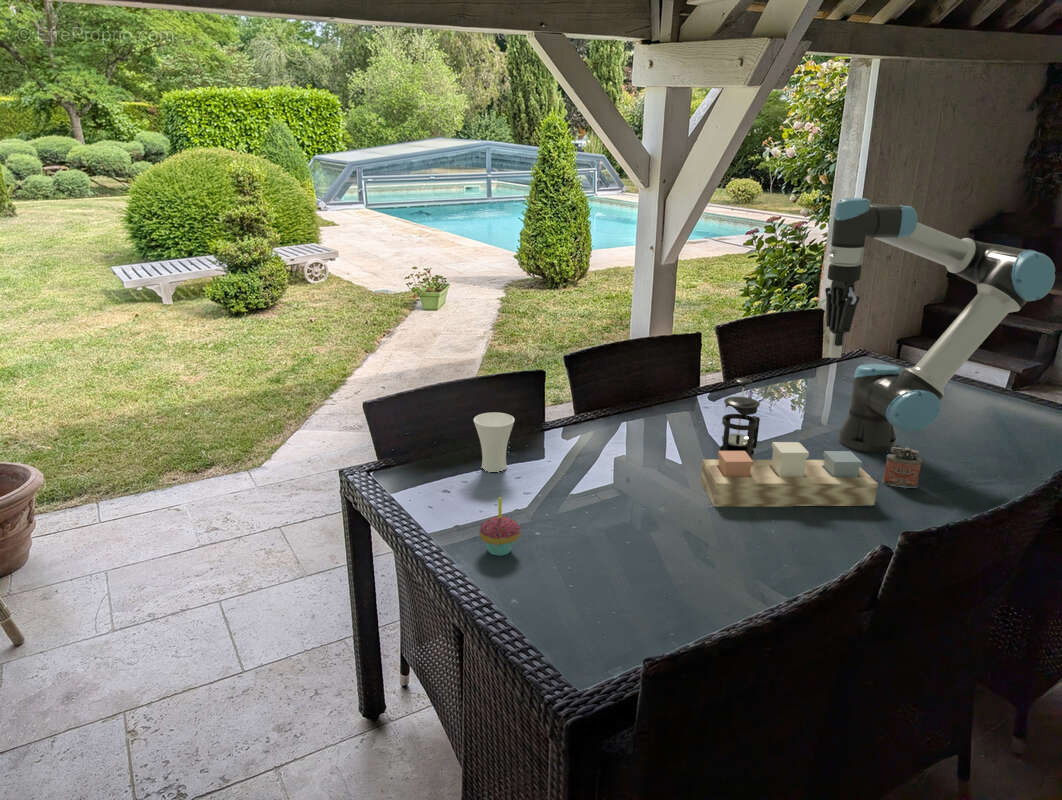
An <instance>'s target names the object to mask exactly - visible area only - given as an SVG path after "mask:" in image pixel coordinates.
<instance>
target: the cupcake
mask: <svg viewBox="0 0 1062 800" xmlns="http://www.w3.org/2000/svg"><path fill="white" fill-rule="evenodd" d="M502 503H503V501H502V496H501V493H499V497H498V505H497V507H498V515H497V516H493V517H489V518H488V519H487V520H485V521H483V523H481V525H480V527H479V538H480V539H481V540H482V541H483V542H484V543H485V546H486V548H487V552H488V553H489V554H491V555H493V556H499V557H501V556H506V555H508V554H509V553H511V551H512V548H513V544H514V543H515V542H516V541H517V540H518V539H519V538H520V536H521V533H522V531H521V529H522V528H521V526H520V525H519V524H518V522H517V521H515V519H513V518H511V517H508V516H503V515H502V514H503V513H502V509H503V507H502Z"/></svg>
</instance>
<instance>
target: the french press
mask: <svg viewBox="0 0 1062 800" xmlns="http://www.w3.org/2000/svg"><path fill="white" fill-rule="evenodd" d="M735 382H736V383H739V384H741V388H742V391H741V392H742V393H741V396H729V397H726V398H725V399H724V404H725V408H729V407H731V408H733V409H734V410H736V412H737V413H729V414H725V415H723V416H722V421H721V424H722V425H723V426H724V429H723V435H722V436H721V440H722V445H720V446H719V450H718V451H746V453H747V454H748V455H749V457H750V458H751V459H752V460H754V454H755V450H754V449H757V445H758V438H759V437H758V436H759V429H760V421H761V418H760V417H759V416H756V415H755V414H757V412H758V407H760V402H759V401H758V400H756V399H754V398H750V397H746V396H744V392H745V388H746V385H749V384H753V380H752V379H750V378H744V377H740V378H736V379H735ZM752 415H753V416H752ZM732 419H733V420H734V419H735V420H736V419H737V420H738V424H737V423H736V424H735V423H731V420H732ZM741 420H746V421H748V424H747V425H745V424H744V425H743V424H741V422H742V421H741ZM731 429H732V430H736V431H737V433H730V430H731ZM740 431H747V434H743V433H740ZM717 460H719V456H718V455H717Z"/></svg>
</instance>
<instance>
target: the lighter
mask: <svg viewBox="0 0 1062 800" xmlns="http://www.w3.org/2000/svg"><path fill="white" fill-rule="evenodd" d="M891 453H892V454H891ZM918 456H919V450H915V449H911V448H910V447H904V448H903V447H897V446H895V447H892V448H891V451H890V453H889V454H887V455H886V463H885V468H884V475H883V478H882V481H881V482H883V483H885V484H889V485H896V486H906V487H916V486H917V487H918V480H919V476H920V471H921V465H922V464H923V459H922V458H920V457H918Z"/></svg>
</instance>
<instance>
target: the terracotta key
mask: <svg viewBox="0 0 1062 800" xmlns="http://www.w3.org/2000/svg"><path fill="white" fill-rule="evenodd" d="M718 456H719V464H718V469H719V470H720V472H721V474H722V475H723V477H750V471H751V466H753V461H752V459H751V458H750V457H749V455H748V454H747V453H746V451H719V450H718V452H717V457H718Z"/></svg>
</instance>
